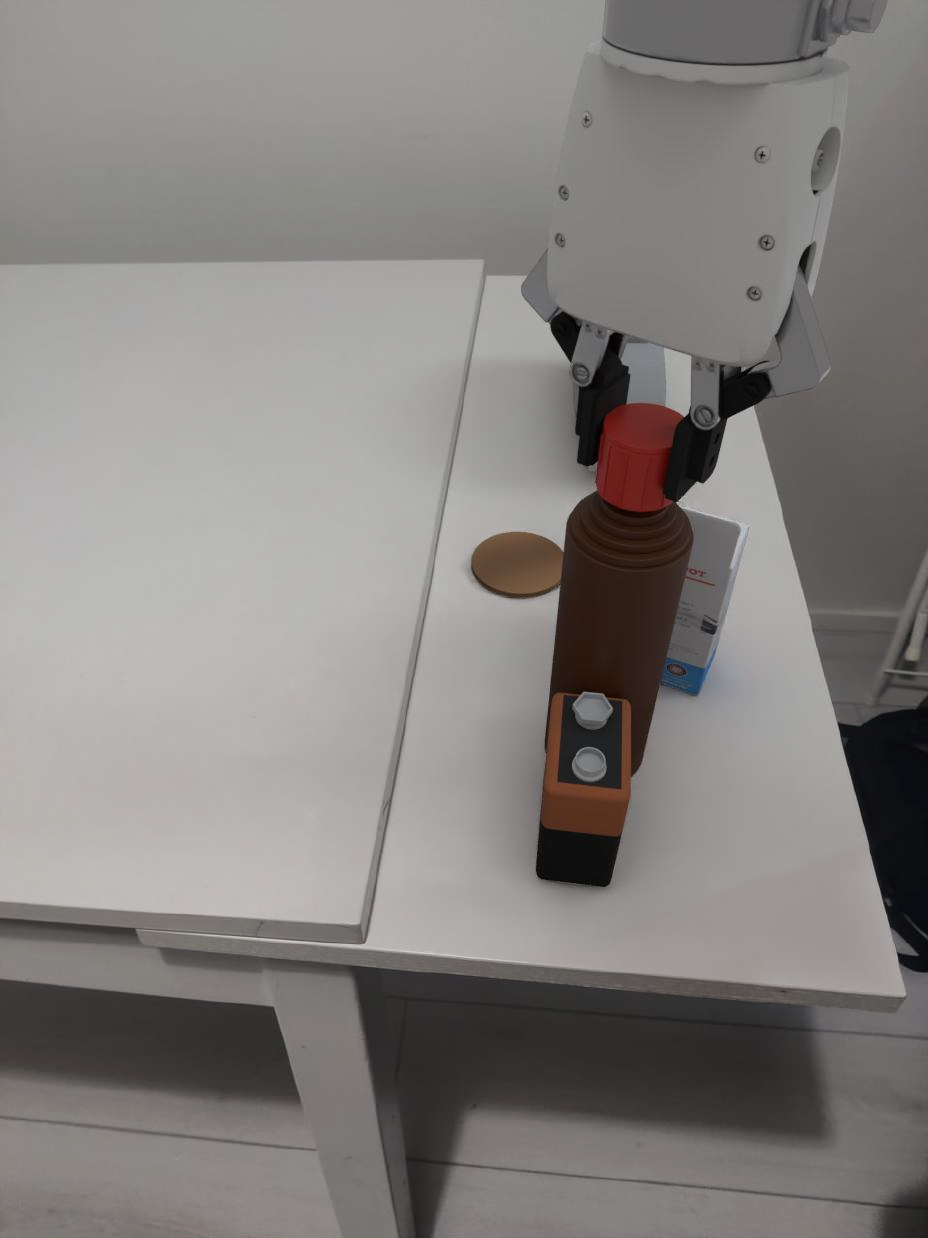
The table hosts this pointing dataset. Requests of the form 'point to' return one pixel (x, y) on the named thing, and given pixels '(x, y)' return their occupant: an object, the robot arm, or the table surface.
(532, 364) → the table surface
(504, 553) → the coaster
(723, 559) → the ink box
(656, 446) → the cap
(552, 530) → the table surface
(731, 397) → the robot arm
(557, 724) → the battery
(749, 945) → the table surface
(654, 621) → the bottle
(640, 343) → the alarm clock
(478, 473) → the table surface
